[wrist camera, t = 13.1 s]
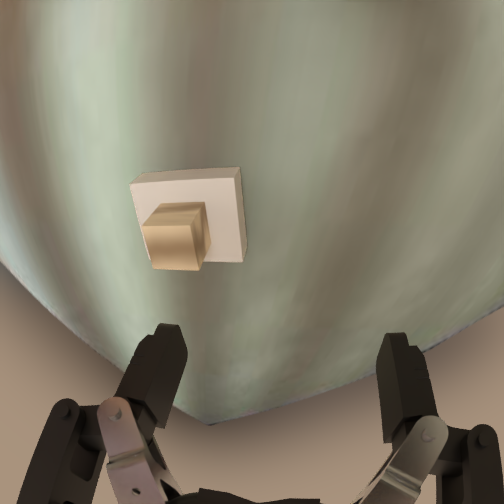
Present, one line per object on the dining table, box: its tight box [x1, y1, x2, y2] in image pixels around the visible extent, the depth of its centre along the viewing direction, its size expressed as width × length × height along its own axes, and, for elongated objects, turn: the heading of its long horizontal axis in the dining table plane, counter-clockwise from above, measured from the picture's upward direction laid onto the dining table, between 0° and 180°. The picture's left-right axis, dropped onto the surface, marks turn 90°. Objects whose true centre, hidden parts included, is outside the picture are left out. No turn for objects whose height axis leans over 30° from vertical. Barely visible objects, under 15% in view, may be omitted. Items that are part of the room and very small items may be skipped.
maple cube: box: [141, 202, 211, 270], centre depth 38 cm, size 6×6×6 cm
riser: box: [129, 167, 247, 262], centre depth 42 cm, size 12×14×4 cm
